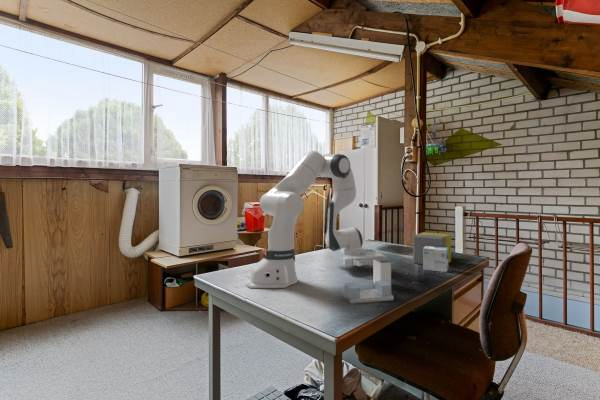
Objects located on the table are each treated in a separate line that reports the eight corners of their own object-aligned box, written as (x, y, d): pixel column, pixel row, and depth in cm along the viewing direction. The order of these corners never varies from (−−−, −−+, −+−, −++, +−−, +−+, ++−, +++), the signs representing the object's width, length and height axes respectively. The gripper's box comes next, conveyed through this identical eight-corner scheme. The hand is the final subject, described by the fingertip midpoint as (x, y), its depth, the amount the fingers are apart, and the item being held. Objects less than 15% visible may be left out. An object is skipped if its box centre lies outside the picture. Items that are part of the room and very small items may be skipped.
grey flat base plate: (351, 303, 107) (351, 299, 107) (342, 295, 116) (342, 291, 116) (393, 300, 111) (393, 295, 111) (382, 292, 119) (382, 288, 119)
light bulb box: (448, 269, 151) (448, 247, 151) (446, 272, 145) (446, 249, 145) (425, 266, 157) (425, 245, 156) (422, 269, 151) (422, 247, 151)
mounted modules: (350, 298, 109) (350, 288, 109) (344, 292, 115) (344, 283, 114) (391, 294, 112) (391, 285, 112) (383, 289, 118) (383, 280, 117)
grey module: (380, 287, 124) (380, 260, 124) (373, 282, 131) (373, 256, 131) (391, 286, 125) (391, 260, 125) (383, 281, 132) (383, 256, 132)
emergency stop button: (455, 259, 172) (456, 232, 171) (442, 268, 154) (442, 238, 153) (428, 255, 182) (428, 230, 181) (412, 263, 163) (412, 235, 163)
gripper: (338, 251, 151) (348, 257, 137) (377, 249, 155) (390, 255, 141) (338, 264, 151) (348, 272, 137) (377, 262, 155) (390, 269, 141)
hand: (370, 263), depth 139 cm, fingers open, 8 cm apart
